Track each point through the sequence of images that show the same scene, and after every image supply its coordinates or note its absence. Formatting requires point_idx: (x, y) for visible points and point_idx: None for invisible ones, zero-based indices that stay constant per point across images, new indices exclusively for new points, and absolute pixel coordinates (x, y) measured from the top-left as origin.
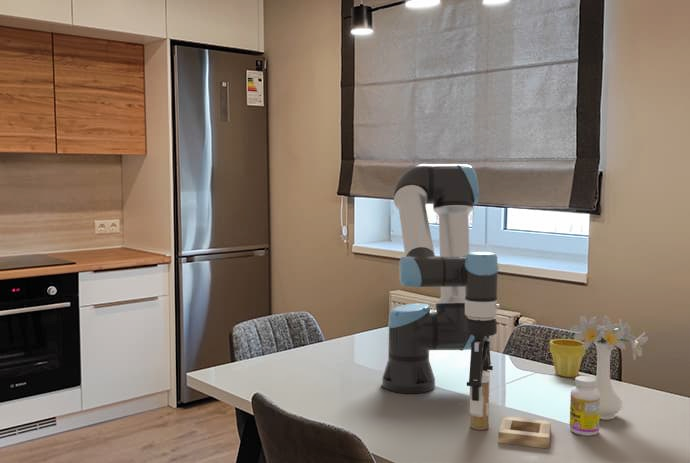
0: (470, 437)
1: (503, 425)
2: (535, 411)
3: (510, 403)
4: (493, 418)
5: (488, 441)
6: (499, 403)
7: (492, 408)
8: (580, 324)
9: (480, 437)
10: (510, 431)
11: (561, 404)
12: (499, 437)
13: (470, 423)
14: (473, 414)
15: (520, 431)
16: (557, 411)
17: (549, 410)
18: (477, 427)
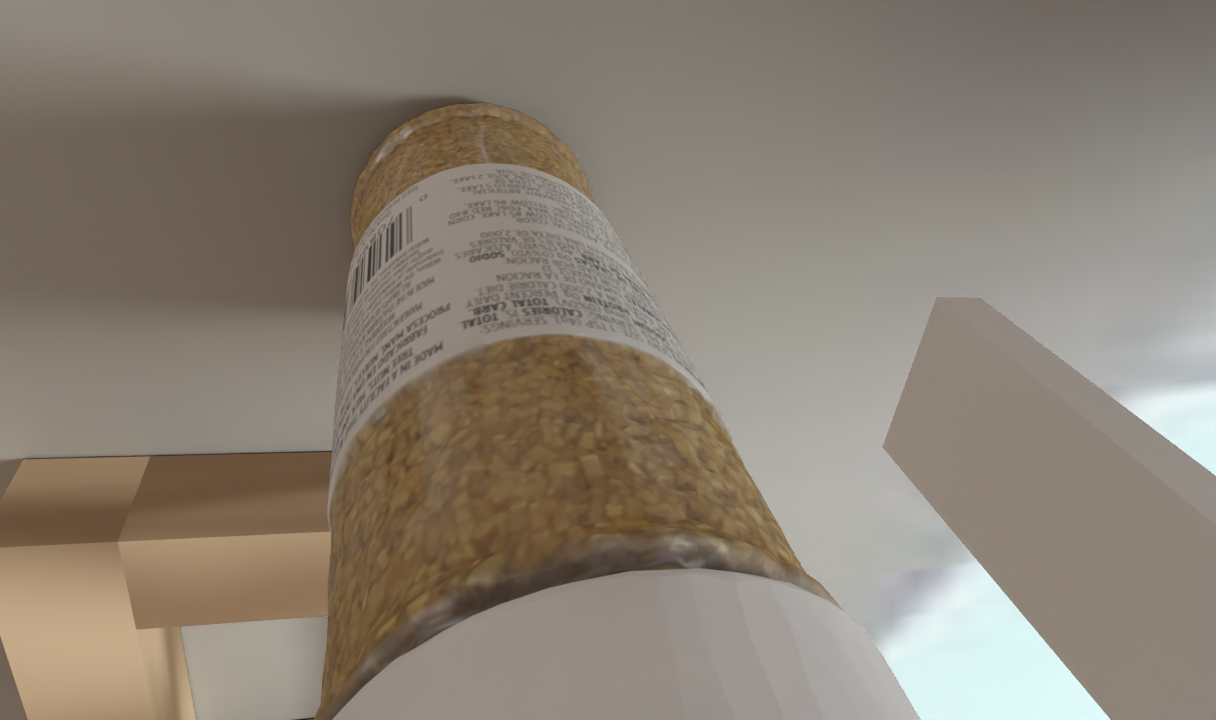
0: (29, 134)
1: (256, 559)
2: (973, 605)
3: (1190, 426)
4: (794, 332)
5: (5, 360)
6: (1212, 341)
7: (1088, 294)
8: None
9: (102, 260)
10: (73, 644)
11: (1096, 709)
12: (4, 508)
13: (488, 111)
14: (373, 226)
15: (132, 713)
16: (963, 712)
17: (987, 673)
18: (356, 215)
